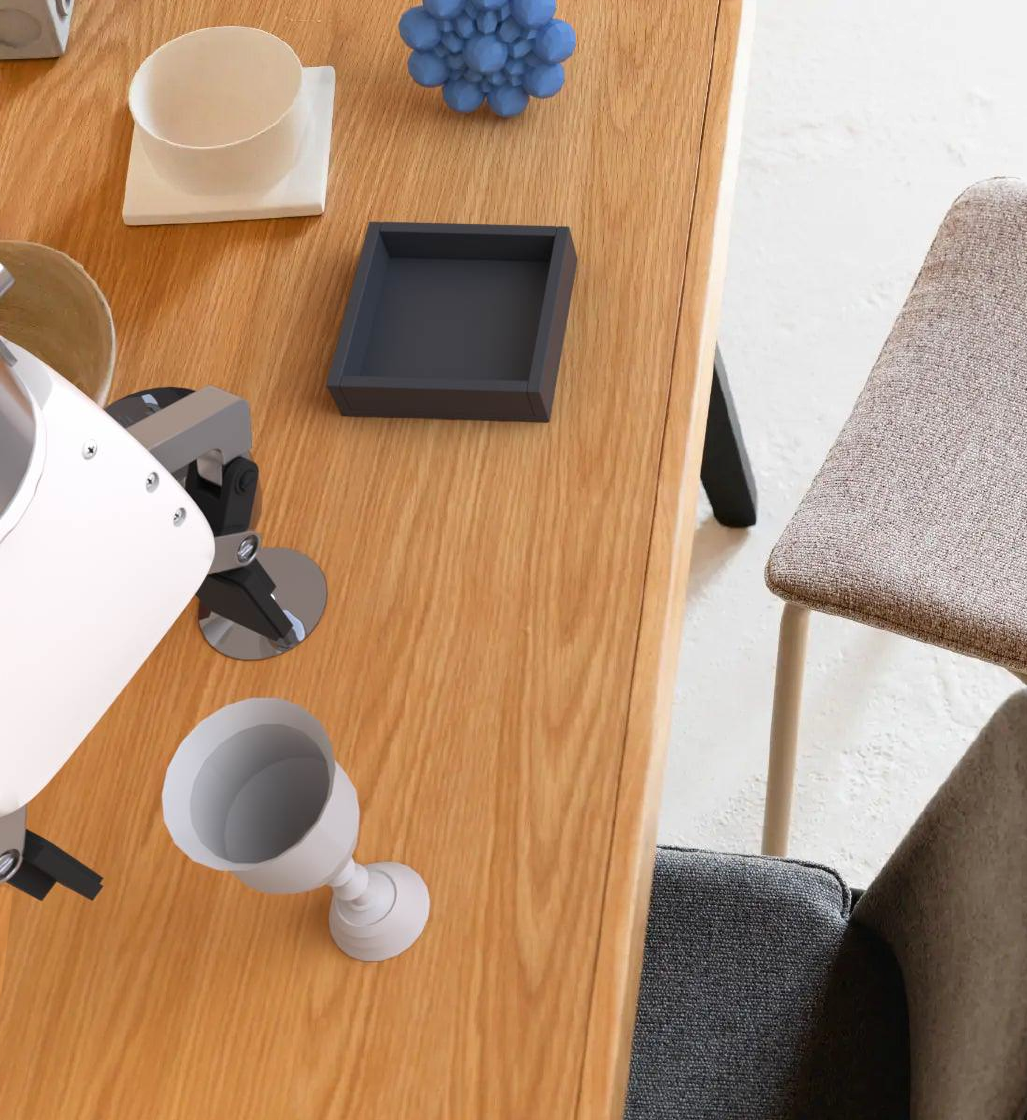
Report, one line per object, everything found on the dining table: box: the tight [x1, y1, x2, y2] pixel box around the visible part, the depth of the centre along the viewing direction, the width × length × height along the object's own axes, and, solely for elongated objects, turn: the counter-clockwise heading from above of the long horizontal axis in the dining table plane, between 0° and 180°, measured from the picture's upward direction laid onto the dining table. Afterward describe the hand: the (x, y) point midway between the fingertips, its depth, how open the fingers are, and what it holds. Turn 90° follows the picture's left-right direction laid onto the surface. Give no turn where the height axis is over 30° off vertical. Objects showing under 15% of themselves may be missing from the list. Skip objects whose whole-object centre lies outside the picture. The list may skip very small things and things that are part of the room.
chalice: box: [161, 697, 431, 962], centre depth 67 cm, size 7×7×18 cm
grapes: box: [397, 0, 577, 119], centre depth 97 cm, size 12×7×12 cm, turn 87°
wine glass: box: [102, 386, 328, 662], centre depth 77 cm, size 8×8×15 cm
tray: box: [325, 221, 579, 423], centre depth 91 cm, size 13×13×3 cm
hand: (161, 740), depth 48 cm, fingers open, 9 cm apart
